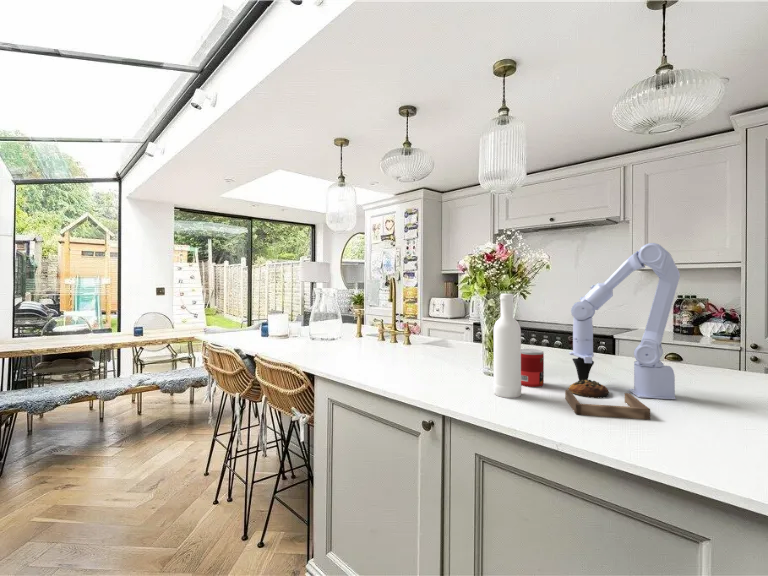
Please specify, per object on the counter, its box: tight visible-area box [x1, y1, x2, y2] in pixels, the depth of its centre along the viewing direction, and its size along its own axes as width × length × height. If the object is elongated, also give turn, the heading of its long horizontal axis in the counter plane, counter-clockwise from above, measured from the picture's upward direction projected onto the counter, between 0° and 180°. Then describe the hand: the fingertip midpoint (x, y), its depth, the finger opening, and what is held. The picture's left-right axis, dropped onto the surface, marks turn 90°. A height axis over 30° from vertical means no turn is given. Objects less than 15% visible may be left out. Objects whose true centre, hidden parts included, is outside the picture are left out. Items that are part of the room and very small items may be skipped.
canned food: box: [521, 348, 545, 388], centre depth 130 cm, size 8×8×11 cm
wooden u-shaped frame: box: [564, 389, 651, 421], centre depth 105 cm, size 16×14×2 cm
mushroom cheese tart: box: [567, 379, 610, 399], centre depth 120 cm, size 11×11×5 cm
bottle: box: [493, 293, 522, 399], centre depth 118 cm, size 8×8×30 cm
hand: (583, 381), depth 127 cm, fingers closed
